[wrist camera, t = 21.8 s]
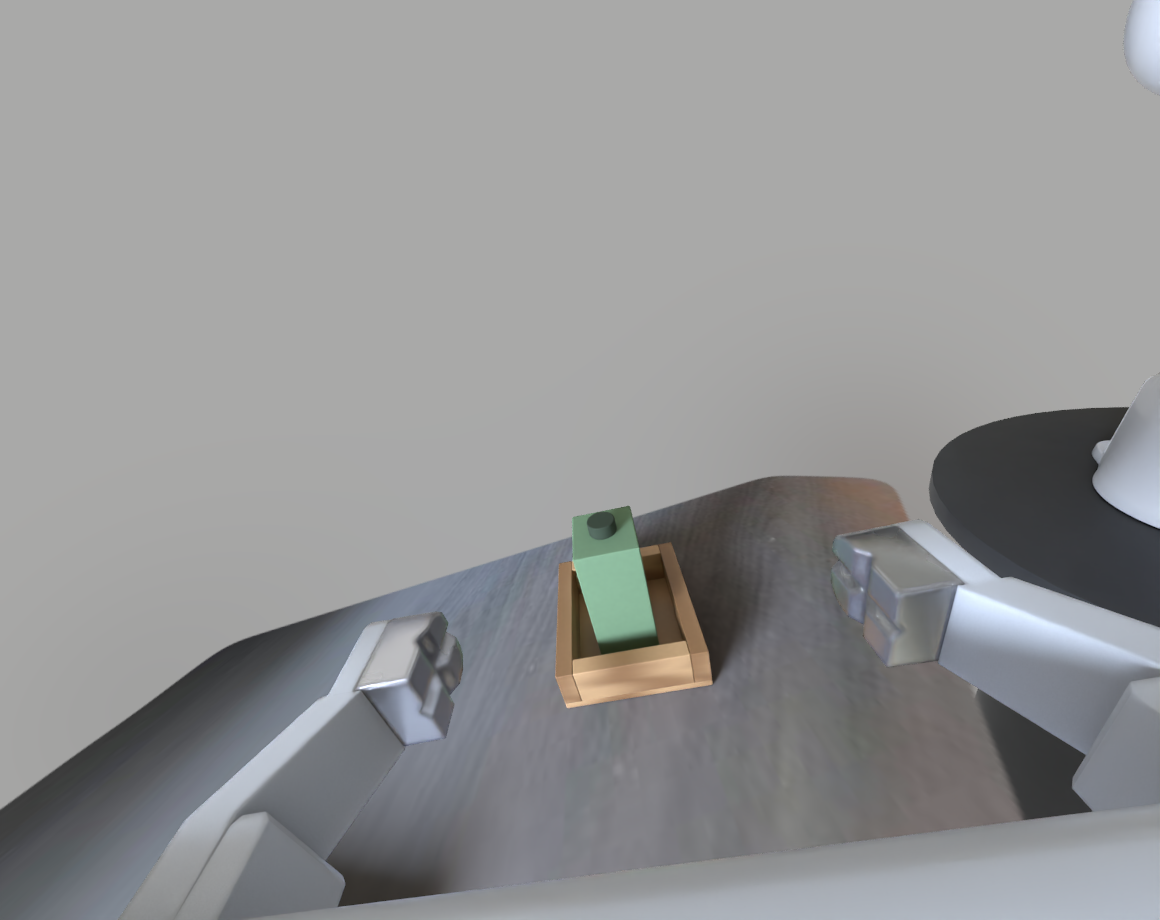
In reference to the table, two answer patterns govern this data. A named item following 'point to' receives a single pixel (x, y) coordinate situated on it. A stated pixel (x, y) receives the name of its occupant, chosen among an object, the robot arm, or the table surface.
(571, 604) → the wooden tray
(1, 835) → the table surface
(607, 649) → the green carton with cap
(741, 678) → the table surface
